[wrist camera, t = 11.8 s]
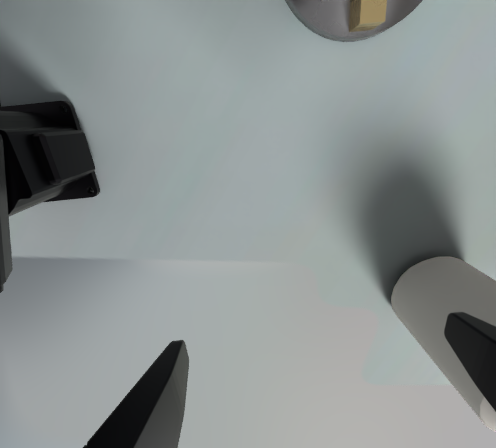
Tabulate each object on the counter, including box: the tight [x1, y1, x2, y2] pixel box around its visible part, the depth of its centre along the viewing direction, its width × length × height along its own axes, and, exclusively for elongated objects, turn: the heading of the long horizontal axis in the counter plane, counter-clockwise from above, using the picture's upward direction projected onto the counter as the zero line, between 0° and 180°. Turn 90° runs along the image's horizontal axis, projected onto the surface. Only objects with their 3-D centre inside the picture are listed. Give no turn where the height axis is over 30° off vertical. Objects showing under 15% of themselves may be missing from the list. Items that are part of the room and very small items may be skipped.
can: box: [391, 256, 496, 432], centre depth 19 cm, size 8×8×12 cm
